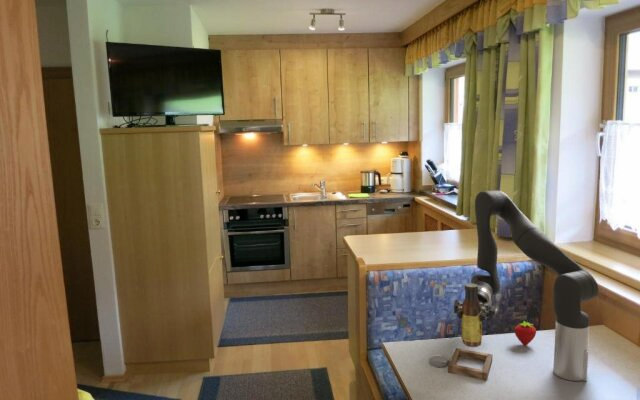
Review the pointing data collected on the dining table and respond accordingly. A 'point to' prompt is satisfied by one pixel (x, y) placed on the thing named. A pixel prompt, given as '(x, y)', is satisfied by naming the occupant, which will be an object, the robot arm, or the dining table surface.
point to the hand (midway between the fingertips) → (470, 317)
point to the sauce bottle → (471, 317)
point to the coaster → (439, 361)
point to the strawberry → (525, 332)
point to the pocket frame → (469, 371)
